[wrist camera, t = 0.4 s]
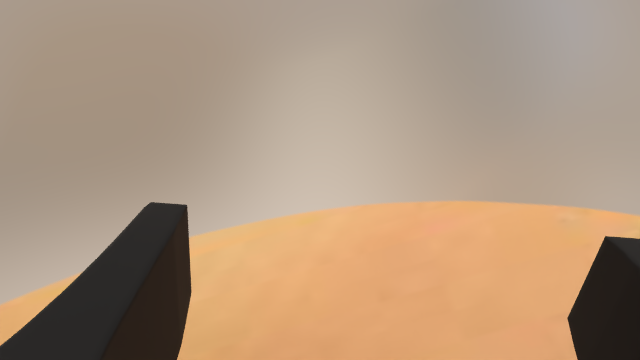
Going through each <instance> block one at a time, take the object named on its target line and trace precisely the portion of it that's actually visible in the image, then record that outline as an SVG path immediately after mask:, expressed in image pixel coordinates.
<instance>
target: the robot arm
mask: <svg viewBox="0 0 640 360" xmlns="http://www.w3.org/2000/svg"><path fill="white" fill-rule="evenodd" d="M190 297H191V274H190V253H189V233H188V212H187V205H180V204H165V203H154V202H151V203H149V204H148V205H147V206H146V207H144V209H143V210H142V211H141V212H140V213H139V214H138V215H137V216H136V217H135V218H134V219H133V221H132V222H131V223H130V224H129V225H128V226H127V227H126V228H125V229H124V230H123V231H122V233H121V234H120V235H119V236H118V237H117V238H116V239H115V240H114V241H113V242H112V243H111V244H110V246H108V248H107V249H105V251H104V252H103V253H102V254H101V255H100V256H99V257H98V258H97V259H96V260H95V261H94V262H93V263H92V264H91V265H90V266H89V267H88V268H87V269H86V270H85V271H84V272H83V273H82V274H81V275H80V276H79V277H78V278H77V279H76V280H75V281H74V282H72V283H71V284H70V285H69V286H68V287H67V288H66V289H65V290H64V291H63V292H62V293H61V294H60V295H59V296H58V297H56V298H55V299H54V300H53V301H52V302H51V303H50V304H49V305H47V306H46V307H45V308H44V309H43V310H42V311H41V312H40V313H39V314H37V315H36V316H35V317H34V318H33V319H32V320H31V321H30V322H28V323H27V324H26V325H25V326H24V327H23V328H22V329H20V330H19V331H18V332H17V333H16V334H14V335H13V336H12V337H11V338H10V339H8V340H7V341H6V342H5V343H4V344H2V345H1V346H0V360H177V357H178V354H179V351H180V348H181V344H182V339H183V334H184V329H185V324H186V318H187V313H188V308H189V302H190ZM568 322H569V327H570V331H571V335H572V339H573V344H574V348H575V351H576V355H577V359H578V360H640V239H634V238H621V237H608V236H605V238H604V240H603V243H602V245H601V247H600V249H599V251H598V253H597V256H596V258H595V260H594V262H593V264H592V266H591V269H590V271H589V273H588V275H587V277H586V279H585V282H584V284H583V286H582V288H581V290H580V292H579V295H578V297H577V299H576V301H575V303H574V305H573V308H572V310H571V312H570V314H569V316H568Z"/></svg>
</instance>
